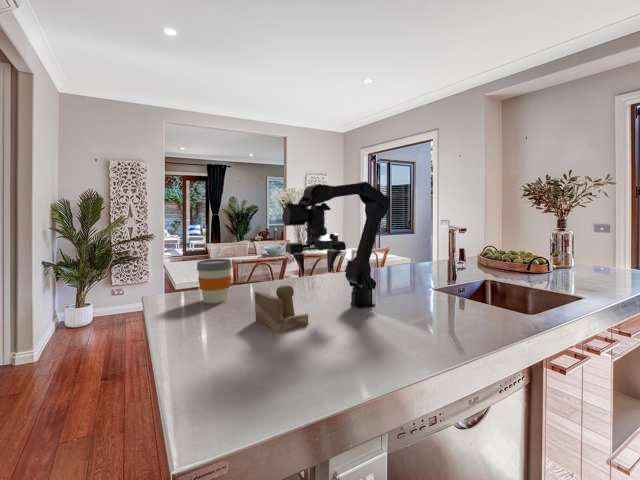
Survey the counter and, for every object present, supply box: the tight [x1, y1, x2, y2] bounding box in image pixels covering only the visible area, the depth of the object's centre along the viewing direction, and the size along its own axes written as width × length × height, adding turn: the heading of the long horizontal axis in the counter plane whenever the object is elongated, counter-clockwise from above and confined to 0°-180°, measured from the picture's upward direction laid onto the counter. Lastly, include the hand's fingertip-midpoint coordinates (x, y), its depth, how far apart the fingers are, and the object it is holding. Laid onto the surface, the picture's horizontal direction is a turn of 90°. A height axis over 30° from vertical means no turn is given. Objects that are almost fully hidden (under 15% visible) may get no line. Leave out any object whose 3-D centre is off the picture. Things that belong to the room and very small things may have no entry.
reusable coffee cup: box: [196, 258, 232, 304], centre depth 129 cm, size 13×13×15 cm
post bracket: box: [254, 290, 309, 334], centre depth 101 cm, size 11×14×9 cm
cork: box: [275, 285, 296, 318], centre depth 102 cm, size 6×6×11 cm
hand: (316, 273), depth 109 cm, fingers open, 9 cm apart
